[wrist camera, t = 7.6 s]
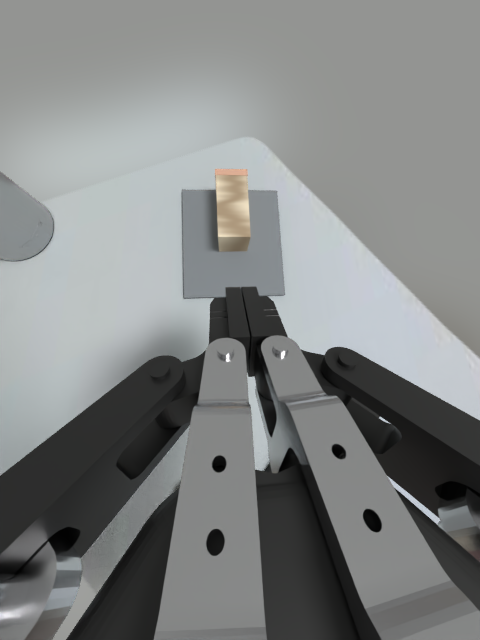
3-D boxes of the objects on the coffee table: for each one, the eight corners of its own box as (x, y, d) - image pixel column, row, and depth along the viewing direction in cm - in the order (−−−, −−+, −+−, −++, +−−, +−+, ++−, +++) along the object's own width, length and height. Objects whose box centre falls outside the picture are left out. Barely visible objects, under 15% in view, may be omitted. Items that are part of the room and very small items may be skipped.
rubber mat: (184, 298, 28) (183, 297, 28) (182, 192, 30) (182, 189, 30) (284, 295, 29) (284, 294, 29) (276, 193, 31) (276, 190, 31)
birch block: (217, 236, 25) (215, 168, 26) (218, 251, 29) (216, 192, 30) (251, 236, 25) (247, 169, 26) (247, 251, 29) (244, 192, 30)
